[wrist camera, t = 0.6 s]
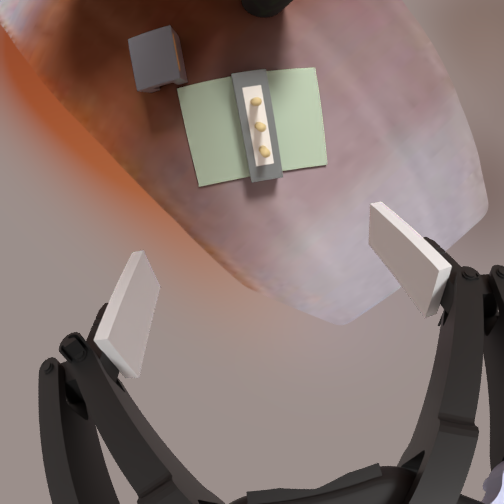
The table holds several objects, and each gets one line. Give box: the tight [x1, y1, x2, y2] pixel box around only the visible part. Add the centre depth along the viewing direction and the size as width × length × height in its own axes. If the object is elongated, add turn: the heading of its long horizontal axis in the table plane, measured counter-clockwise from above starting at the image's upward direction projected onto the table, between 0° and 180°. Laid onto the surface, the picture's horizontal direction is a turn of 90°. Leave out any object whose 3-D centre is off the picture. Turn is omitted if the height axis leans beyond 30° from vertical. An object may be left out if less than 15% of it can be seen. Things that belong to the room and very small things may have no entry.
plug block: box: [128, 25, 188, 93], centre depth 24 cm, size 7×5×6 cm
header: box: [177, 68, 327, 187], centre depth 30 cm, size 14×18×6 cm
